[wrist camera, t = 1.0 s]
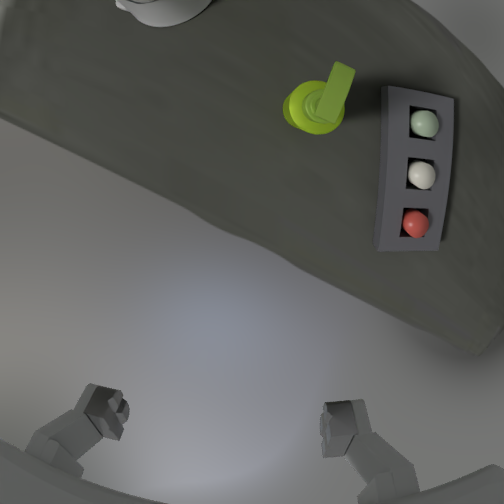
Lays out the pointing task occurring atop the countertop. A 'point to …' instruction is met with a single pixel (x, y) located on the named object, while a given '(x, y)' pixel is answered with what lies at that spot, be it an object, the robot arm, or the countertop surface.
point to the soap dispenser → (320, 102)
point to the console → (395, 169)
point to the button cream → (420, 174)
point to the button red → (414, 223)
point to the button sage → (423, 123)
